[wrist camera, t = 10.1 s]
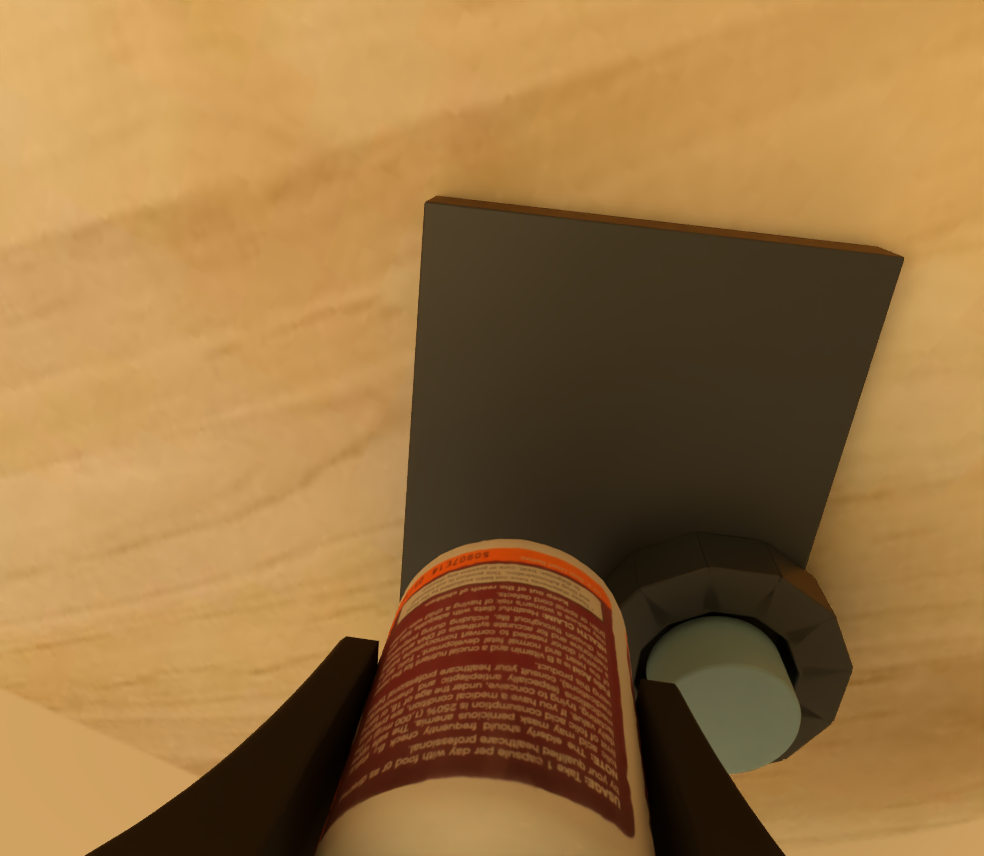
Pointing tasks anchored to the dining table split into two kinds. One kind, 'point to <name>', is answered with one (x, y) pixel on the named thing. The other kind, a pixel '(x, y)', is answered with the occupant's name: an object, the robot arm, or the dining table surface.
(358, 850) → the pill bottle
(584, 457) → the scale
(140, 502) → the dining table surface
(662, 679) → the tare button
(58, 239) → the dining table surface
